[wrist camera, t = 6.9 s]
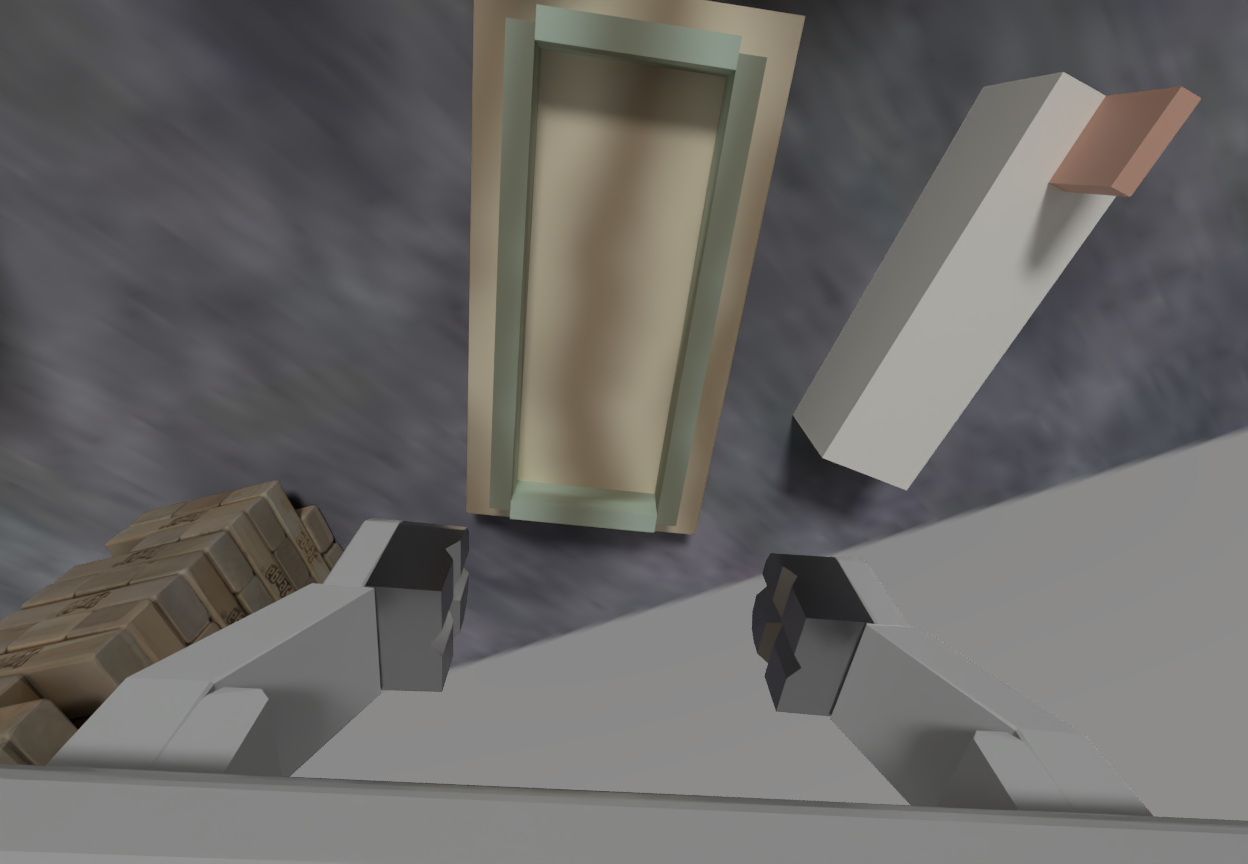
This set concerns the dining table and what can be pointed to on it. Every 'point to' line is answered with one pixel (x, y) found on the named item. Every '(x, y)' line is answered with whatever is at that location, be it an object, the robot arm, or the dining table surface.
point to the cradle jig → (613, 247)
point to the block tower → (149, 606)
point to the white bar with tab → (978, 262)
